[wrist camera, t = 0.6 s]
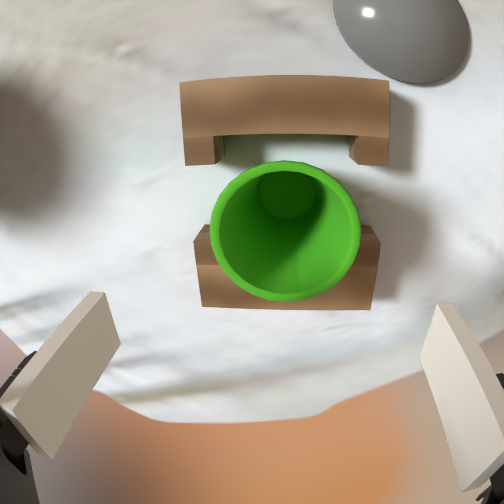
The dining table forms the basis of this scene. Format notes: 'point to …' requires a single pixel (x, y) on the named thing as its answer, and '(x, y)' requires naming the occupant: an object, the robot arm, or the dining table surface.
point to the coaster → (405, 36)
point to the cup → (285, 231)
